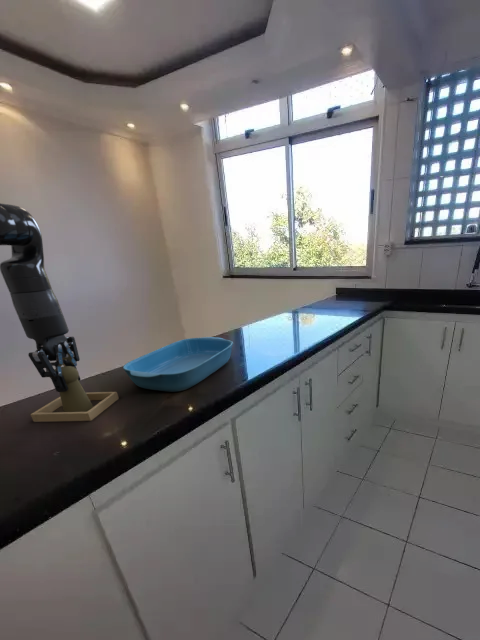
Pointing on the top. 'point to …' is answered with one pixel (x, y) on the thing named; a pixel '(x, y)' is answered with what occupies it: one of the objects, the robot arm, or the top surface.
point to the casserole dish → (179, 364)
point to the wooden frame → (48, 415)
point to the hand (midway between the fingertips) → (69, 385)
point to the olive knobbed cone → (74, 392)
